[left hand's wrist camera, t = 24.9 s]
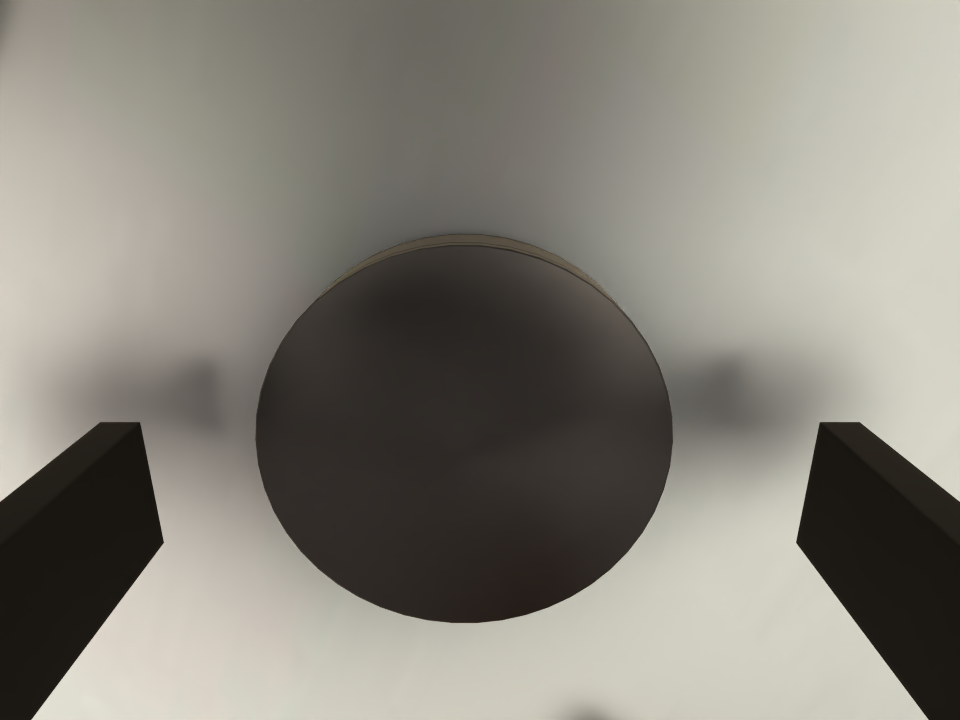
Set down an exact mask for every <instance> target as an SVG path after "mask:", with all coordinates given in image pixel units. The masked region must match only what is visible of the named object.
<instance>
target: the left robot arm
mask: <svg viewBox="0 0 960 720" xmlns="http://www.w3.org/2000/svg"><path fill="white" fill-rule="evenodd" d="M163 543H164V541H163V536H162V531H161V526H160V521H159V516H158V511H157V506H156V501H155V495H154V490H153V485H152V480H151V475H150V470H149V465H148V460H147V455H146V450H145V445H144V440H143V435H142V429H141V424H140V422H100V423H99V424H98V425H96V426H95V427H94V428H93V429H91V430H90V431H89V432H88V433H86V434H85V435H84V436H83V437H81V438H80V439H79V440H78V441H76V442H75V443H74V444H72V445H71V446H70V447H69V448H67V449H66V450H65V451H64V452H62V453H61V454H60V455H59V456H57V457H56V458H55V459H54V460H52V461H51V462H50V463H49V464H47V465H46V466H45V467H44V468H42V469H41V470H40V471H39V472H37V473H36V474H35V475H34V476H32V477H31V478H30V479H28V480H27V481H26V482H25V483H23V484H22V485H21V486H20V487H18V488H17V489H16V490H15V491H13V492H12V493H11V494H10V495H8V496H7V497H6V498H5V499H3V500H2V501H1V502H0V720H31V719H32V718H33V717H34V715H35V714H36V713H37V711H38V710H39V709H40V707H41V706H42V705H43V703H44V702H45V701H46V699H47V698H48V697H49V695H50V694H51V693H52V691H53V690H54V689H55V687H56V686H57V685H58V683H59V682H60V681H61V679H62V678H63V677H64V675H65V674H66V673H67V671H68V670H69V669H70V667H71V666H72V665H73V663H74V662H75V661H76V659H77V658H78V657H79V655H80V654H81V653H82V651H83V650H84V649H85V647H86V646H87V645H88V643H89V642H90V641H91V639H92V638H93V637H94V635H95V634H96V633H97V631H98V630H99V629H100V627H101V626H102V625H103V623H104V622H105V621H106V619H107V618H108V617H109V615H110V614H111V613H112V611H113V610H114V609H115V607H116V606H117V605H118V603H119V602H120V601H121V599H122V598H123V597H124V595H125V594H126V593H127V591H128V590H129V589H130V587H131V586H132V584H133V583H134V582H135V580H136V579H137V578H138V576H139V575H140V574H141V572H142V571H143V570H144V568H145V567H146V566H147V564H148V563H149V562H150V560H151V559H152V558H153V556H154V555H155V554H156V552H157V551H158V550H159V548H160V547H161V546H162V544H163ZM796 543H797V544H798V546H799V547H800V548H801V550H802V551H803V552H804V554H805V555H806V556H807V558H808V559H809V560H810V562H811V563H812V564H813V566H814V567H815V568H816V570H817V571H818V572H819V574H820V575H821V576H822V578H823V579H824V580H825V582H826V583H827V585H828V586H829V587H830V589H831V590H832V591H833V593H834V594H835V595H836V597H837V598H838V599H839V601H840V602H841V603H842V605H843V606H844V607H845V609H846V610H847V611H848V613H849V614H850V615H851V617H852V618H853V619H854V621H855V622H856V623H857V625H858V626H859V627H860V629H861V630H862V631H863V633H864V634H865V635H866V637H867V638H868V639H869V641H870V642H871V643H872V645H873V646H874V647H875V649H876V650H877V651H878V653H879V654H880V655H881V657H882V658H883V659H884V661H885V662H886V663H887V665H888V666H889V667H890V669H891V670H892V671H893V673H894V674H895V675H896V677H897V678H898V679H899V681H900V682H901V683H902V685H903V686H904V687H905V689H906V690H907V691H908V693H909V694H910V695H911V697H912V698H913V699H914V701H915V702H916V703H917V705H918V706H919V707H920V709H921V710H922V711H923V713H924V714H925V715H926V717H927V718H928V719H929V720H960V502H959V501H958V500H957V499H955V498H954V497H953V496H952V495H950V494H949V493H948V492H947V491H945V490H944V489H943V488H942V487H940V486H939V485H938V484H937V483H935V482H934V481H933V480H932V479H930V478H929V477H928V476H926V475H925V474H924V473H923V472H921V471H920V470H919V469H918V468H916V467H915V466H914V465H913V464H911V463H910V462H909V461H908V460H906V459H905V458H904V457H903V456H901V455H900V454H899V453H898V452H896V451H895V450H894V449H893V448H891V447H890V446H889V445H888V444H886V443H885V442H884V441H882V440H881V439H880V438H879V437H877V436H876V435H875V434H874V433H872V432H871V431H870V430H869V429H867V428H866V427H865V426H864V425H862V424H861V423H860V422H820V424H819V429H818V435H817V440H816V445H815V450H814V455H813V460H812V465H811V470H810V475H809V480H808V485H807V490H806V495H805V501H804V506H803V511H802V516H801V521H800V526H799V531H798V536H797V541H796Z"/></svg>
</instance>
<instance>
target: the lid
mask: <svg viewBox="0 0 960 720" xmlns="http://www.w3.org/2000/svg"><path fill="white" fill-rule="evenodd" d="M672 444H673V431H672V413H671V408H670V402H669V397H668V391H667V388H666V385H665V382H664V379H663V376H662V373H661V370H660V367H659V365H658V363H657V361H656V359H655V357H654V355H653V353H652V351H651V349H650V347H649V345H648V344H647V342H646V341H645V339H644V338H643V336H642V335H641V334H640V332H639V331H638V329H637V328H636V326H635V325H634V324H633V322H632V321H631V320H630V319H629V318H628V316H627V315H626V314H625V313H624V312H623V311H622V309H621V308H620V307H619V306H618V305H617V304H616V303H615V302H614V300H613V299H612V298H611V297H610V296H609V295H608V294H607V293H606V292H605V291H604V290H603V289H602V288H601V287H600V286H599V285H598V284H597V283H596V282H594V281H593V280H592V279H591V278H589V277H588V276H587V275H586V274H584V273H583V272H582V271H581V270H579V269H578V268H576V267H574V266H573V265H571V264H569V263H568V262H566V261H564V260H563V259H561V258H559V257H558V256H556V255H553V254H551V253H549V252H546V251H544V250H542V249H539V248H537V247H535V246H532V245H529V244H525V243H522V242H518V241H514V240H511V239H507V238H501V237H494V236H486V235H471V234H451V235H443V236H435V237H427V238H423V239H419V240H415V241H411V242H407V243H404V244H400V245H397V246H395V247H392V248H390V249H388V250H385V251H383V252H380V253H378V254H375V255H373V256H372V257H370V258H368V259H367V260H365V261H363V262H361V263H360V264H358V265H356V266H355V267H353V268H351V269H350V270H349V271H348V272H346V273H345V274H344V275H342V276H341V277H340V278H339V279H337V280H336V281H335V282H334V283H332V284H331V285H330V286H329V287H328V288H327V289H326V290H325V291H324V292H323V293H322V294H321V295H320V296H319V298H318V299H317V300H316V301H315V302H314V303H313V304H312V305H311V306H310V307H309V308H308V309H307V310H306V311H305V312H304V313H303V314H302V315H301V316H300V317H299V318H298V319H297V321H296V322H295V323H294V325H293V326H292V328H291V329H290V330H289V332H288V333H287V335H286V336H285V337H284V339H283V340H282V342H281V344H280V346H279V347H278V349H277V351H276V353H275V355H274V357H273V359H272V361H271V363H270V365H269V368H268V371H267V374H266V377H265V379H264V382H263V385H262V388H261V393H260V398H259V403H258V409H257V414H256V448H257V457H258V465H259V469H260V473H261V477H262V481H263V485H264V488H265V491H266V493H267V496H268V498H269V501H270V503H271V505H272V508H273V510H274V512H275V514H276V516H277V517H278V519H279V521H280V523H281V524H282V526H283V528H284V529H285V531H286V533H287V534H288V535H289V537H290V538H291V539H292V541H293V542H294V543H295V544H296V546H297V547H298V548H299V550H300V551H301V552H302V553H303V554H304V555H305V556H306V557H307V558H308V559H309V560H310V561H311V562H312V563H313V564H314V565H315V566H316V567H317V568H318V569H319V570H320V571H322V572H323V573H324V574H325V575H327V576H328V577H329V578H330V579H332V580H333V581H334V582H335V583H337V584H338V585H340V586H341V587H343V588H345V589H346V590H348V591H350V592H351V593H353V594H355V595H356V596H358V597H360V598H362V599H364V600H366V601H368V602H371V603H373V604H375V605H377V606H379V607H382V608H385V609H388V610H391V611H393V612H396V613H399V614H402V615H406V616H411V617H415V618H420V619H425V620H430V621H440V622H449V623H480V622H490V621H499V620H505V619H509V618H514V617H519V616H523V615H527V614H530V613H533V612H536V611H539V610H542V609H545V608H548V607H550V606H552V605H554V604H557V603H559V602H561V601H563V600H565V599H567V598H570V597H571V596H573V595H575V594H576V593H578V592H580V591H581V590H583V589H584V588H586V587H588V586H589V585H591V584H592V583H594V582H595V581H596V580H597V579H599V578H600V577H601V576H603V575H604V574H605V573H606V572H608V571H609V570H610V569H611V568H612V567H613V566H614V565H615V564H616V563H617V562H618V561H619V560H620V559H621V558H622V557H623V556H624V555H625V554H626V553H627V552H628V551H629V550H630V548H631V547H632V546H633V544H634V543H635V542H636V541H637V539H638V538H639V537H640V535H641V534H642V533H643V531H644V529H645V528H646V526H647V524H648V522H649V521H650V519H651V517H652V515H653V514H654V512H655V510H656V507H657V505H658V502H659V500H660V498H661V495H662V493H663V490H664V487H665V483H666V479H667V475H668V472H669V468H670V461H671V453H672Z"/></svg>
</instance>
